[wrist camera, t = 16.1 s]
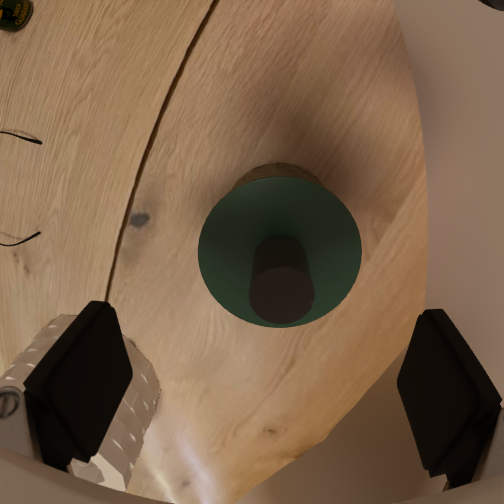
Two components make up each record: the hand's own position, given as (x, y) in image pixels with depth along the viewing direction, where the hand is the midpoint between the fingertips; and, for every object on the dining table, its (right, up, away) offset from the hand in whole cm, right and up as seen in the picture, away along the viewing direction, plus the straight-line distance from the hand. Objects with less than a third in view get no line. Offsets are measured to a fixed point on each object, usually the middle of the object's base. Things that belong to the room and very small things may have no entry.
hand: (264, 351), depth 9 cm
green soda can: (-34, +37, +16) cm, 52 cm away
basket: (-27, -17, +38) cm, 50 cm away
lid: (+2, +3, +15) cm, 16 cm away
